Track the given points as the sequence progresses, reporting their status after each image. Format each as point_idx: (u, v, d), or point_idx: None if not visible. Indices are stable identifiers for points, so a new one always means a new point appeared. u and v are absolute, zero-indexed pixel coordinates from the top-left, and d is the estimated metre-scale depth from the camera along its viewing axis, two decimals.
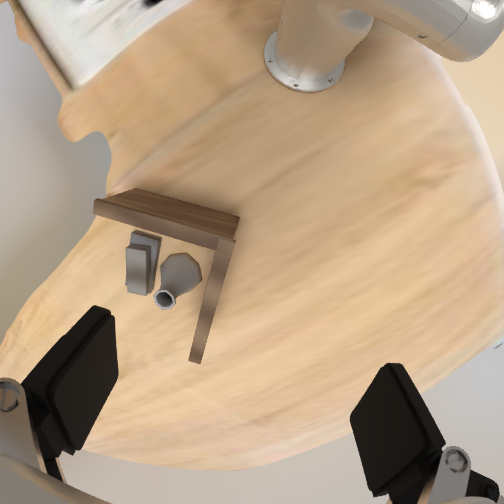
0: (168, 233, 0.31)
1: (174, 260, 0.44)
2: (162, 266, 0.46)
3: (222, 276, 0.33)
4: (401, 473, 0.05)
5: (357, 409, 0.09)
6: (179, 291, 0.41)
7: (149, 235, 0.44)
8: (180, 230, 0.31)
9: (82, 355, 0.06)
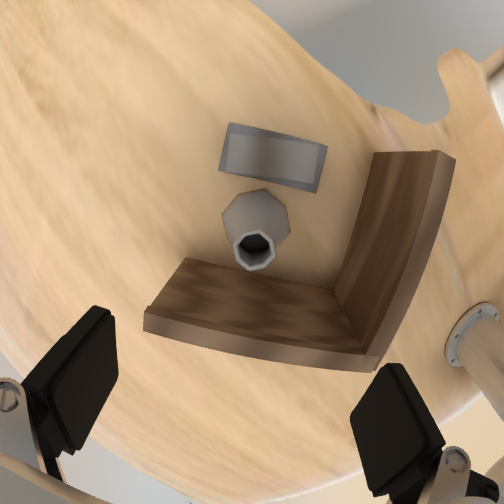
0: (399, 292, 0.18)
1: (283, 220, 0.28)
2: (269, 196, 0.28)
3: (326, 366, 0.20)
4: (401, 473, 0.05)
5: (357, 409, 0.09)
6: (254, 256, 0.24)
7: None
8: (400, 309, 0.19)
9: (82, 355, 0.06)
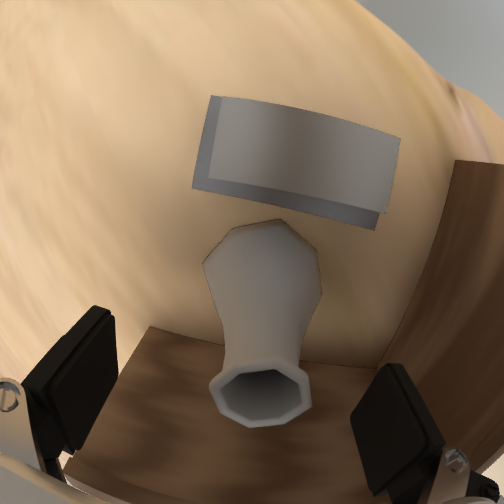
0: None
1: (313, 281, 0.15)
2: (288, 235, 0.15)
3: None
4: (401, 473, 0.05)
5: (357, 409, 0.09)
6: None
7: None
8: (501, 452, 0.06)
9: (82, 355, 0.06)
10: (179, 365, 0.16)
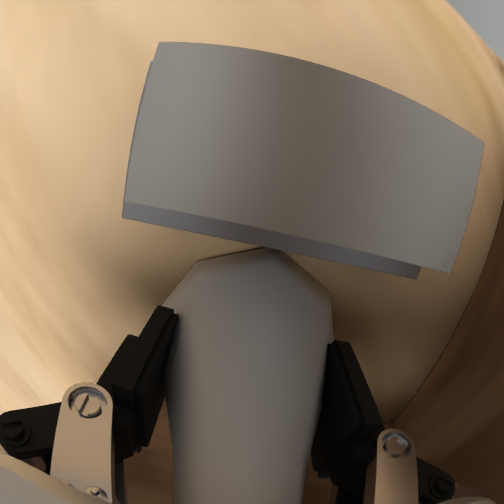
0: None
1: (326, 345, 0.09)
2: (287, 276, 0.09)
3: None
4: (340, 452, 0.06)
5: None
6: None
7: None
8: None
9: (160, 353, 0.07)
10: None
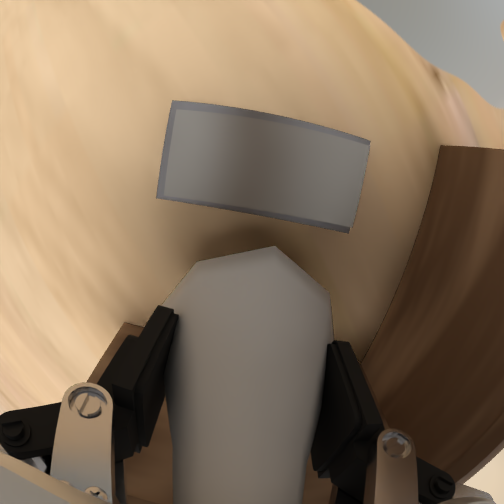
0: None
1: (326, 344, 0.09)
2: (286, 276, 0.09)
3: None
4: (339, 452, 0.06)
5: None
6: None
7: None
8: (494, 454, 0.05)
9: (160, 353, 0.07)
10: None
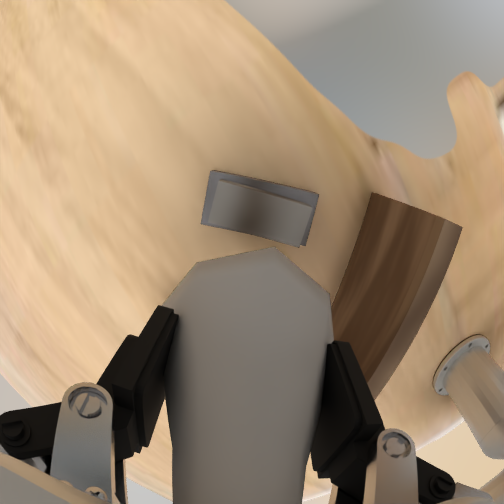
0: (384, 361, 0.17)
1: (325, 345, 0.09)
2: (286, 277, 0.09)
3: None
4: (339, 452, 0.06)
5: None
6: None
7: None
8: (384, 375, 0.18)
9: (160, 353, 0.07)
10: None
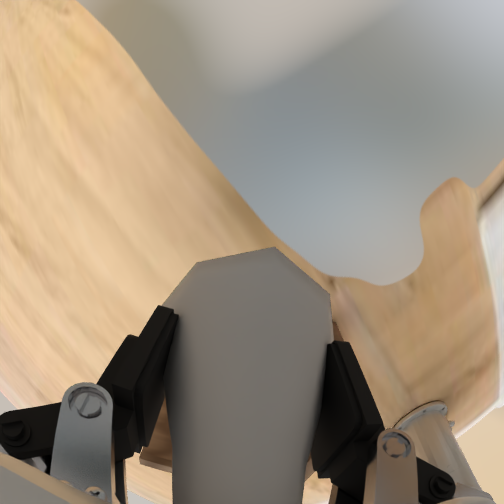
0: (309, 463, 0.22)
1: (325, 345, 0.09)
2: (286, 277, 0.09)
3: None
4: (339, 452, 0.06)
5: None
6: None
7: None
8: (311, 468, 0.23)
9: (160, 353, 0.07)
10: None
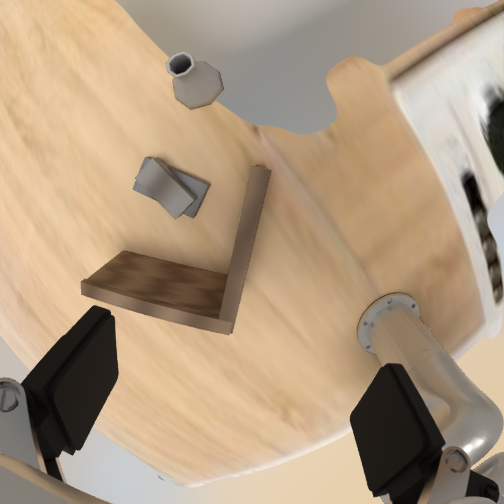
0: (232, 272, 0.28)
1: (215, 76, 0.32)
2: (205, 63, 0.31)
3: (191, 324, 0.30)
4: (401, 473, 0.05)
5: (357, 409, 0.09)
6: (185, 82, 0.28)
7: (200, 203, 0.39)
8: (236, 285, 0.29)
9: (82, 355, 0.06)
10: (132, 261, 0.39)
